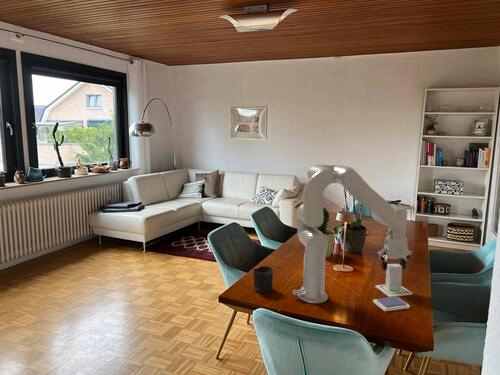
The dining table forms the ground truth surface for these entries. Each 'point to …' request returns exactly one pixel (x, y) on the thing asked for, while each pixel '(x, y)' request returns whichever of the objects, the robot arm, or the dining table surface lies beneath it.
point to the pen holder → (263, 279)
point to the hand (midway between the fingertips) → (393, 268)
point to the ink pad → (391, 303)
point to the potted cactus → (327, 232)
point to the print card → (394, 293)
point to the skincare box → (393, 277)
